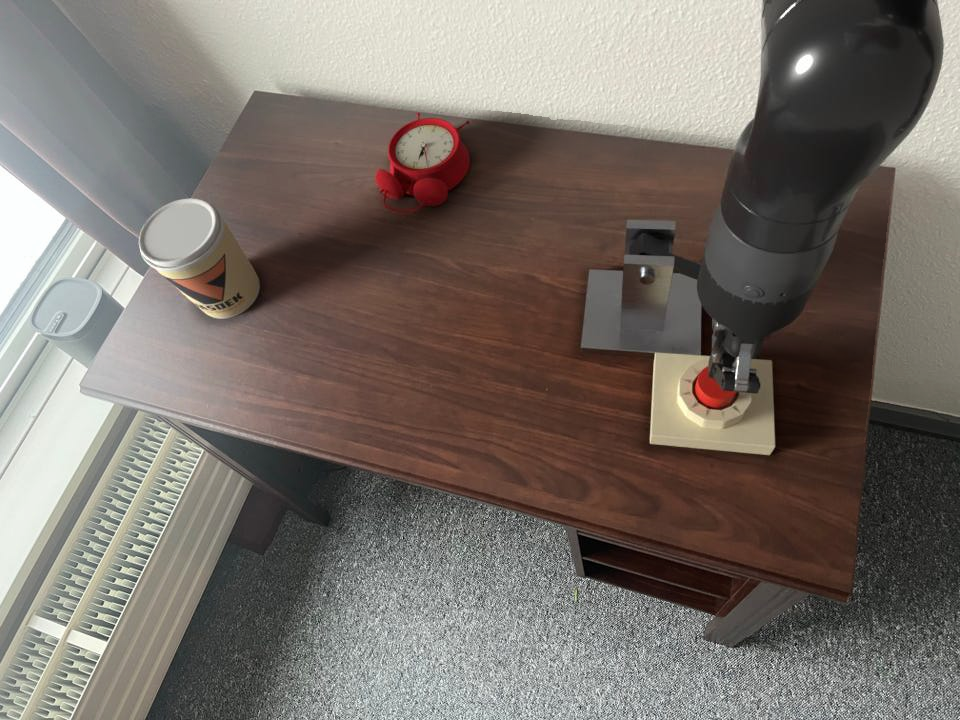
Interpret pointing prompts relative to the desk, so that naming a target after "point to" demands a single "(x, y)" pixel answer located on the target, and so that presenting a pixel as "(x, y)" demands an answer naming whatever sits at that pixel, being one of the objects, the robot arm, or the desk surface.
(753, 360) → the control block
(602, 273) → the bracket
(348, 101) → the desk surface
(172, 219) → the cream tin can
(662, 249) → the lever
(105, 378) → the desk surface
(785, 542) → the desk surface
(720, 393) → the button
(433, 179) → the alarm clock
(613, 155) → the desk surface
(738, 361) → the robot arm
